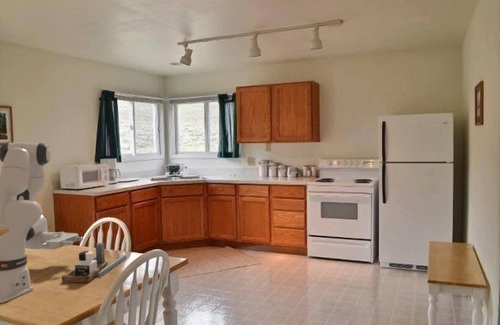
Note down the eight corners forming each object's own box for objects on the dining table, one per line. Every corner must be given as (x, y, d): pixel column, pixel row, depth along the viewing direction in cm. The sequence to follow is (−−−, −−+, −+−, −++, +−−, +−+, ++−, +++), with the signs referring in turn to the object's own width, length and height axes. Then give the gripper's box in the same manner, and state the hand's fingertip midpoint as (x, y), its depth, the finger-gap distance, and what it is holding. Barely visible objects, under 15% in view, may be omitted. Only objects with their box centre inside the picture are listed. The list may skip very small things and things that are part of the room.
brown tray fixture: (87, 282, 177) (86, 258, 176) (61, 281, 178) (61, 257, 177) (113, 264, 202) (112, 243, 202) (90, 263, 204) (90, 242, 203)
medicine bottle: (75, 279, 182) (74, 254, 181) (83, 274, 189) (82, 249, 188) (89, 279, 181) (88, 254, 180) (97, 274, 188) (96, 250, 187)
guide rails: (100, 276, 185) (100, 272, 184) (68, 276, 186) (68, 271, 186) (126, 258, 213) (126, 254, 213) (98, 257, 215) (98, 254, 215)
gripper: (39, 239, 192) (65, 239, 191) (63, 230, 213) (87, 231, 211) (39, 251, 192) (65, 252, 191) (63, 242, 213) (87, 242, 211)
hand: (77, 241), depth 201 cm, fingers open, 8 cm apart
